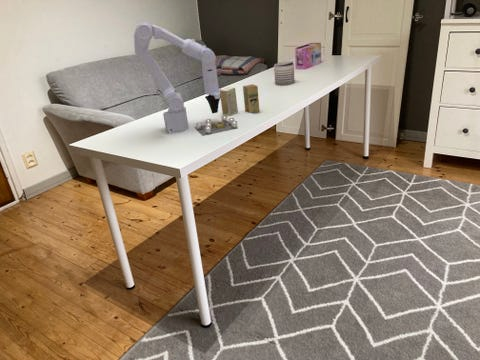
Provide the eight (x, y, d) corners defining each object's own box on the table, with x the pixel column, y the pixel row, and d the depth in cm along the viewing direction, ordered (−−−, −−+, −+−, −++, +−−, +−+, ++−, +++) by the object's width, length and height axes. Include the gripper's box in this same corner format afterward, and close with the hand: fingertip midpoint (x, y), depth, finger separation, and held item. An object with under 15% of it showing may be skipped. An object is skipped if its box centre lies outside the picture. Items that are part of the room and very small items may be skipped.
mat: (202, 137, 154) (202, 135, 153) (194, 129, 165) (194, 127, 164) (238, 130, 158) (238, 128, 158) (227, 122, 169) (227, 120, 169)
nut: (219, 129, 159) (218, 125, 158) (213, 127, 162) (212, 123, 162) (227, 126, 161) (226, 122, 160) (221, 124, 164) (220, 120, 164)
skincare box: (231, 113, 181) (228, 86, 176) (238, 114, 179) (235, 87, 174) (222, 116, 177) (218, 90, 172) (229, 118, 175) (226, 90, 169)
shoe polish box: (245, 112, 180) (242, 86, 175) (254, 110, 182) (252, 84, 177) (249, 114, 176) (247, 88, 171) (259, 112, 178) (257, 86, 173)
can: (285, 86, 219) (284, 64, 214) (270, 84, 227) (269, 63, 222) (298, 82, 225) (298, 61, 220) (284, 80, 233) (283, 60, 228)
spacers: (203, 135, 154) (202, 129, 152) (195, 127, 164) (194, 121, 163) (239, 127, 158) (239, 121, 157) (229, 120, 168) (229, 114, 167)
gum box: (304, 69, 257) (304, 48, 251) (294, 69, 262) (293, 48, 256) (321, 63, 274) (321, 42, 268) (311, 62, 278) (311, 42, 273)
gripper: (225, 81, 153) (229, 114, 159) (214, 75, 166) (218, 107, 172) (208, 84, 151) (213, 118, 157) (198, 78, 164) (203, 110, 169)
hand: (214, 112), depth 164 cm, fingers closed
